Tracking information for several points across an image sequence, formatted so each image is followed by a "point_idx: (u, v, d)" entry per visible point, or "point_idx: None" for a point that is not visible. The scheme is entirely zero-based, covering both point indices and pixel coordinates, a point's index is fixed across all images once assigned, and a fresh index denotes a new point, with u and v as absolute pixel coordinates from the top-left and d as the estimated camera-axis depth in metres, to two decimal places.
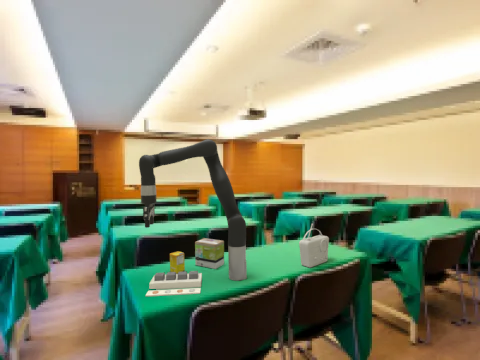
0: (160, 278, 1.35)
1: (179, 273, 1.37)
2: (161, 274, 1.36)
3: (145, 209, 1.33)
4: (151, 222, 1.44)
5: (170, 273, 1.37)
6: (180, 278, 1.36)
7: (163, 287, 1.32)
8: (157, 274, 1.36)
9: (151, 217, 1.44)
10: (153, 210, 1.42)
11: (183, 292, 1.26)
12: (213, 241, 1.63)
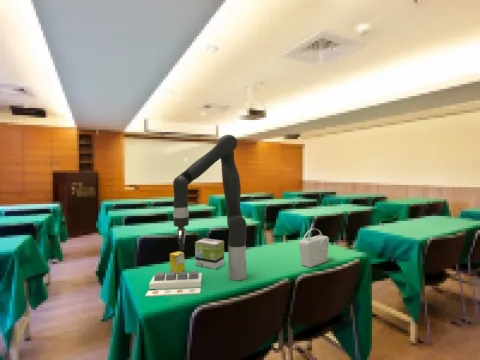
0: (160, 278, 1.35)
1: (179, 273, 1.37)
2: (161, 274, 1.36)
3: (179, 237, 1.31)
4: None
5: (170, 273, 1.37)
6: (180, 278, 1.36)
7: (163, 287, 1.32)
8: (157, 274, 1.36)
9: None
10: None
11: (183, 292, 1.26)
12: (213, 241, 1.63)
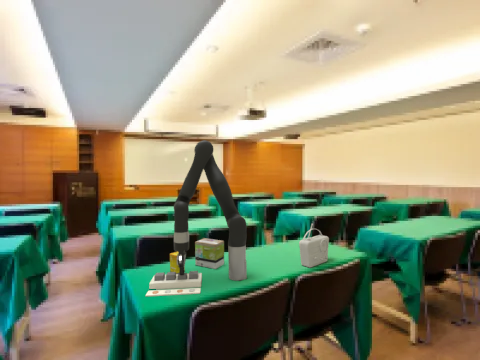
0: (160, 278, 1.35)
1: (179, 274, 1.37)
2: (161, 274, 1.36)
3: (180, 262, 1.32)
4: None
5: (170, 273, 1.37)
6: (180, 279, 1.36)
7: (163, 287, 1.32)
8: (157, 274, 1.36)
9: None
10: (185, 257, 1.39)
11: (183, 292, 1.26)
12: (213, 241, 1.63)
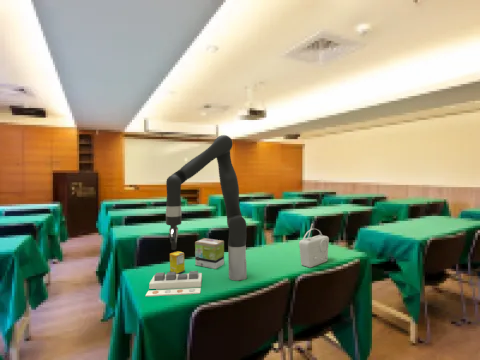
0: (160, 278, 1.35)
1: (179, 275, 1.37)
2: (161, 274, 1.36)
3: (171, 236, 1.31)
4: None
5: (170, 273, 1.37)
6: None
7: (163, 287, 1.32)
8: (157, 274, 1.36)
9: None
10: (177, 232, 1.38)
11: (183, 292, 1.26)
12: (213, 241, 1.63)
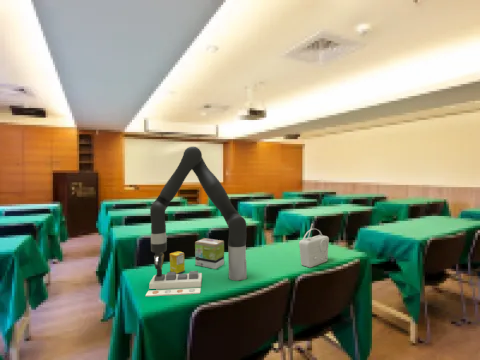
0: (160, 280, 1.35)
1: (179, 275, 1.37)
2: (161, 276, 1.36)
3: (156, 263, 1.31)
4: None
5: (170, 273, 1.37)
6: None
7: (163, 287, 1.32)
8: None
9: None
10: (163, 258, 1.38)
11: (183, 292, 1.26)
12: (213, 241, 1.63)
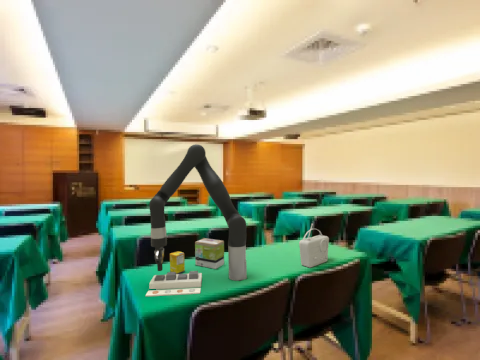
0: (160, 280, 1.35)
1: (179, 275, 1.37)
2: (161, 276, 1.36)
3: (156, 258, 1.31)
4: None
5: (170, 273, 1.37)
6: None
7: (163, 287, 1.32)
8: (157, 276, 1.36)
9: None
10: (163, 253, 1.38)
11: (183, 292, 1.26)
12: (213, 241, 1.63)
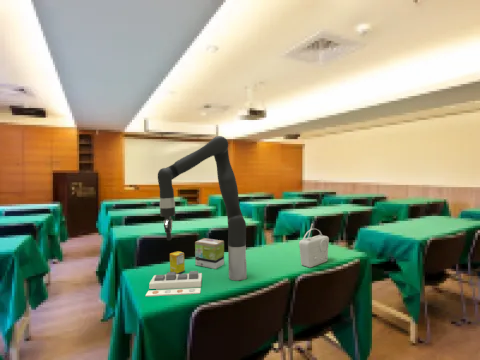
0: (160, 280, 1.35)
1: (179, 275, 1.37)
2: (161, 276, 1.36)
3: (166, 226, 1.36)
4: None
5: (170, 273, 1.37)
6: None
7: (163, 287, 1.32)
8: (157, 276, 1.36)
9: None
10: (171, 223, 1.42)
11: (183, 292, 1.26)
12: (213, 241, 1.63)
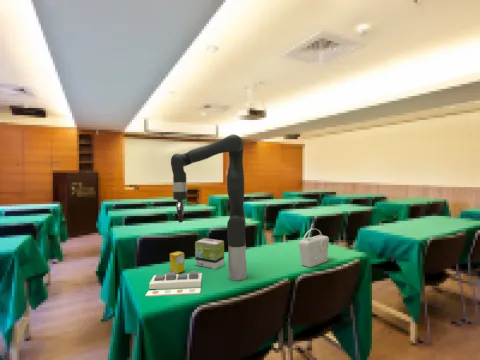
0: (160, 280, 1.35)
1: (179, 275, 1.37)
2: (161, 276, 1.36)
3: (179, 209, 1.43)
4: None
5: (170, 273, 1.37)
6: None
7: (163, 287, 1.32)
8: (157, 276, 1.36)
9: None
10: (183, 206, 1.50)
11: (183, 292, 1.26)
12: (213, 241, 1.63)
